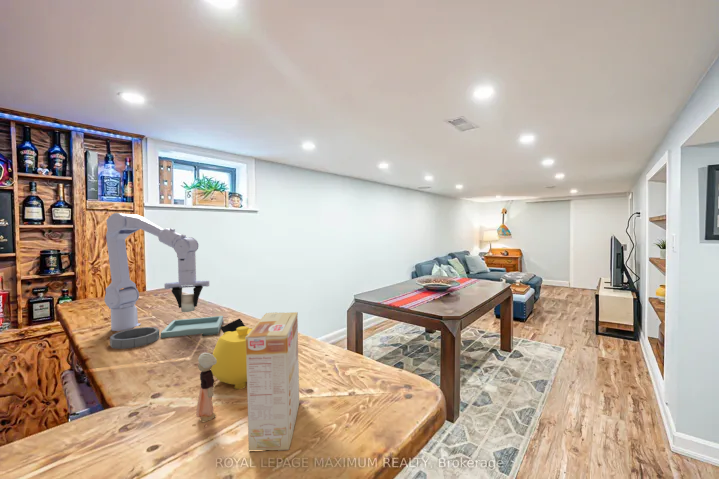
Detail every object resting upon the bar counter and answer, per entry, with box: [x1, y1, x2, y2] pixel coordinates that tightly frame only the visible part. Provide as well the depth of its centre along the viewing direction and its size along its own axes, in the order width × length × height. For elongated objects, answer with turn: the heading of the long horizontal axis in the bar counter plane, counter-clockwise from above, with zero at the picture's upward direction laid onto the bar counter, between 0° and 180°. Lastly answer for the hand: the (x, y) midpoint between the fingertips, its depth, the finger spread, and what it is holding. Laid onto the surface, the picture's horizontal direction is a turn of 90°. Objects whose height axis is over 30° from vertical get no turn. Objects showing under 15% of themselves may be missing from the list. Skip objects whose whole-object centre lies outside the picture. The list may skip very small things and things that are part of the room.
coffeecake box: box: [245, 311, 300, 451], centre depth 58 cm, size 15×7×20 cm, turn 4°
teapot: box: [210, 325, 253, 390], centre depth 77 cm, size 14×20×13 cm
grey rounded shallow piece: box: [109, 326, 160, 350], centre depth 103 cm, size 13×13×4 cm
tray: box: [160, 315, 224, 339], centre depth 116 cm, size 16×18×2 cm
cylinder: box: [180, 292, 196, 313], centre depth 115 cm, size 4×4×6 cm
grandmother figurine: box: [195, 352, 217, 422], centre depth 61 cm, size 8×4×13 cm, turn 45°
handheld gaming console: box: [220, 318, 246, 334], centre depth 107 cm, size 12×7×10 cm
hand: (188, 306), depth 115 cm, fingers closed on cylinder, 4 cm apart
